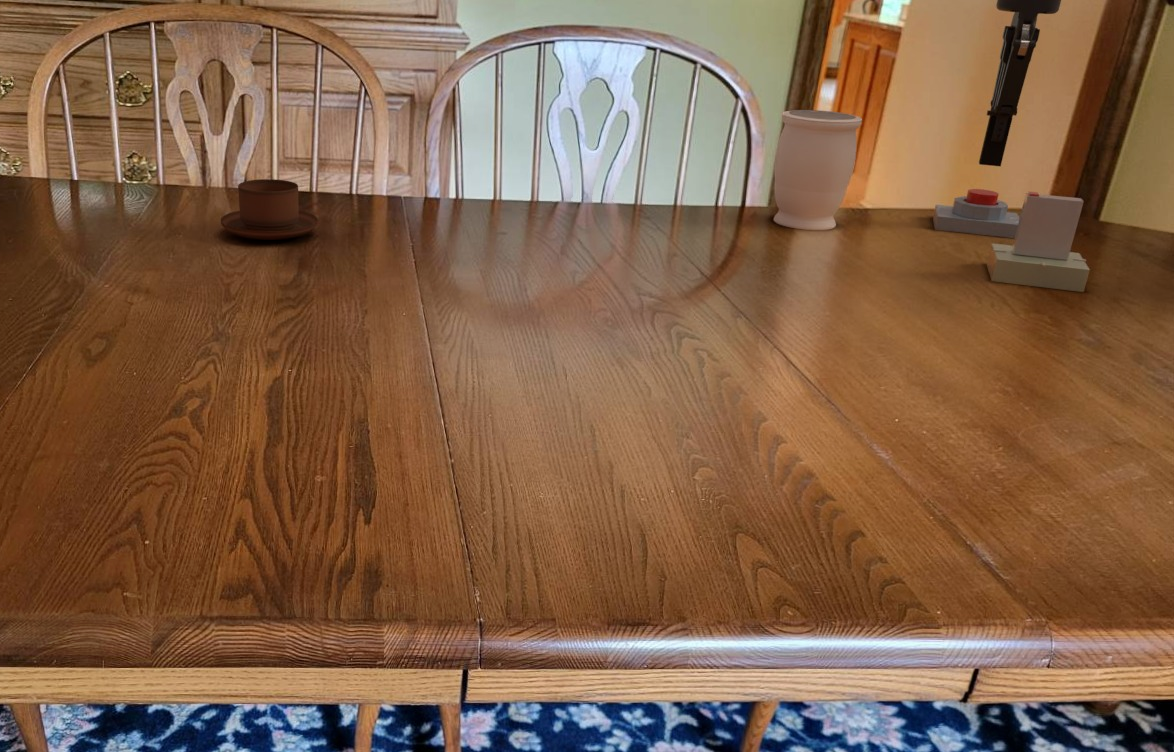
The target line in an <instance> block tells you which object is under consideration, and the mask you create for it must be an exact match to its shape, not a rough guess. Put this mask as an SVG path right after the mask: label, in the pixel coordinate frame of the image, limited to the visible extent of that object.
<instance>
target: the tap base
mask: <svg viewBox="0 0 1174 752" xmlns="http://www.w3.org/2000/svg"><path fill="white" fill-rule="evenodd" d="M1012 247H1013V245H1009V244H1000V243H991V245H990V249H989V253H988V256H987V261H986V268H987V270H988V274H989V277H990V280H991V282H996V283H1004V284H1013V285H1021V286H1022V285H1023V286H1030V287H1038V288H1045V289H1055V290H1063V291H1070V292H1071V291H1072V292H1080V293H1084V292H1085V288H1086V285H1087V282H1088V278H1089V274H1090V271H1091V269H1090V268H1089V266H1088V264H1087V263H1086V262H1087V259H1085V258H1083V257H1082V255H1081V253H1080V252H1073V251H1070V253H1069V257H1068V260H1061V259H1052V258H1043V257H1034V256H1025V255H1016V254H1013V253H1012Z"/></svg>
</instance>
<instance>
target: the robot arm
mask: <svg viewBox="0 0 1174 752" xmlns="http://www.w3.org/2000/svg"><path fill="white" fill-rule="evenodd" d="M1061 2H1062V0H996V4H995V7H996V9H997V10H998V11H1000V12H1001V11H1002V12H1008V13H1013V15H1012V19H1011V23H1010V25H1005V26H1004V29H1003V33H1002V39H1003V41H1002V46H1001V50H1000V54H999V59H1000V60H999V65H998V70H997V75H996V79H995V84H994V89H993V93H992V98H991V100H990V104H989V105H990V109H989V110H987V111H986V116H987V117H988V122H987V126H986V130H985V134H984V138H983V142H982V147H981V152H980V155H979V160H978V164H979V165H981V166H989V167H990V166H991V167H992V166H993V167H1001V166H1002V164H1003V163H1002V162H1003V159H1004V154H1005V150H1006V147H1007V142H1008V137H1009V133H1010V130H1011V125H1012V122H1013V117H1014V116H1017V114H1018V106H1019V102H1020V98H1021V94H1022V91H1023V89H1024V88H1023V87H1024V84H1025V80H1026V77H1027V73H1028V69H1029V66H1030V63H1031V61H1032V56H1033V53H1034V50H1035V48H1036V46H1037V42H1038V41H1039V38H1040V37H1039V36H1040V33H1041V30H1040V28H1038V27H1036V26H1037V21H1038V15H1053V14H1054V15H1055V14H1057V13H1058V12H1059V10H1060V7H1061V4H1062V3H1061Z"/></svg>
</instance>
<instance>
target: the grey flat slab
mask: <svg viewBox="0 0 1174 752" xmlns="http://www.w3.org/2000/svg"><path fill="white" fill-rule="evenodd" d="M1084 203H1085V201H1084V200H1083V199H1082V198H1081V197H1080V198H1079V197H1071V196H1059V195H1050V194H1039V192H1037V191H1027V193H1025V195H1024V199H1023V204H1022V207H1021V212H1020V215H1019V218H1020V219H1019V223H1018V227H1017V231H1016V235H1015V238H1013V239H1014V240H1013V243H1012V246H1013V247H1012V253H1013V254H1016V255H1025V256H1034V257H1043V258H1052V259H1061V260H1068V257H1069V253H1070V252H1071V250H1072V246H1073V242H1074V238H1075V235H1076V231H1077V227H1078V223H1079V221H1080V218H1081V217H1080V216H1081V213H1082V210H1083V205H1084Z"/></svg>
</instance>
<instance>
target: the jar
mask: <svg viewBox="0 0 1174 752" xmlns="http://www.w3.org/2000/svg"><path fill="white" fill-rule="evenodd" d="M781 121H782V122H783V124H784V126H783V128H782V131H781V134H780V135H779V140H778V142H777V147H776V151H775V157H774V171H773V173H774V199H775V203H776V206H777V208H778V211H777V213H776V214H775V215H774V216H773V222H774V223H775V224H777V225H780V226H782V227H786V228H791V229H795V230H796V229H798V230H804V231H826V230H827V231H828V230H831V229H834V228H836V227H837V222H836V220H835V218H834V215H835V214H836V213H837V212H838V210H839V209H840V207H841V205H842V204H843V200H844V199H845V196H846V194H847V190H848V187H849V184H850V182H851V179H852V177H853V173H854V170H855V169H854V168H855V164H856V159H857V150H858V149H857V147H858V146H857V145H858V144H857V143H858V140H857V129H859V128H860V127H861V126H862V123H863V118H862V117H860V116H857V115H854V114H849V113H844V112H838V111H832V110H831V111H830V110H818V109H797V110H796V109H795V110H794V109H793V110H786V111H783V112H782V115H781Z"/></svg>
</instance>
